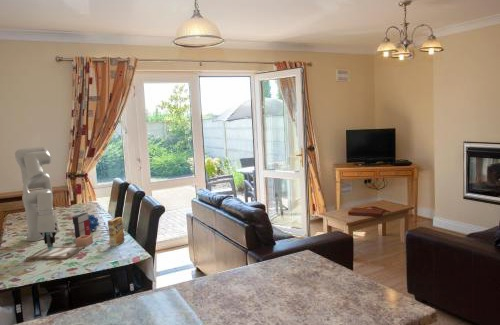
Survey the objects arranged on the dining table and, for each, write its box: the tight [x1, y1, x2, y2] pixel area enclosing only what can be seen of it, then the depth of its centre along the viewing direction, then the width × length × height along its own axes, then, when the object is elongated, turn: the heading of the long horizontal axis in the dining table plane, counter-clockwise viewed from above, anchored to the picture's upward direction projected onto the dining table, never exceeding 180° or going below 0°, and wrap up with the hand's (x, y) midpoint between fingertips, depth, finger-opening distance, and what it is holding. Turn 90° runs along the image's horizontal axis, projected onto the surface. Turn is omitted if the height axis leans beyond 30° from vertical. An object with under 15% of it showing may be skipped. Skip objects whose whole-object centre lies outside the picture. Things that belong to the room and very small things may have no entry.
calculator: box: [72, 212, 91, 239], centre depth 246 cm, size 11×4×15 cm, turn 168°
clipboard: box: [25, 246, 86, 261], centre depth 217 cm, size 24×18×2 cm
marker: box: [46, 232, 54, 249], centre depth 221 cm, size 3×3×10 cm
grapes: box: [88, 213, 100, 232], centre depth 261 cm, size 12×7×12 cm, turn 131°
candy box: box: [107, 216, 125, 247], centre depth 229 cm, size 9×4×15 cm, turn 162°
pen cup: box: [74, 234, 94, 247], centre depth 232 cm, size 7×7×4 cm
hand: (50, 243), depth 221 cm, fingers closed on marker, 3 cm apart
